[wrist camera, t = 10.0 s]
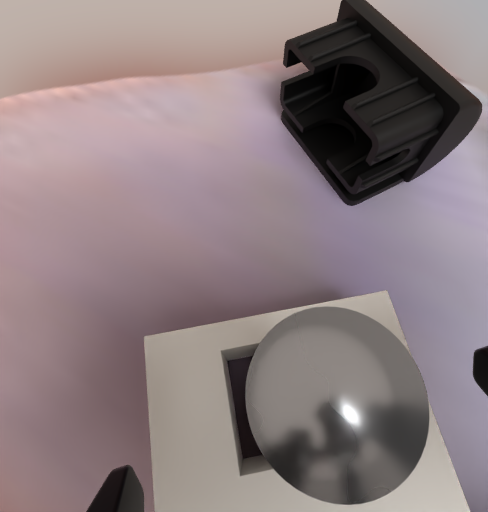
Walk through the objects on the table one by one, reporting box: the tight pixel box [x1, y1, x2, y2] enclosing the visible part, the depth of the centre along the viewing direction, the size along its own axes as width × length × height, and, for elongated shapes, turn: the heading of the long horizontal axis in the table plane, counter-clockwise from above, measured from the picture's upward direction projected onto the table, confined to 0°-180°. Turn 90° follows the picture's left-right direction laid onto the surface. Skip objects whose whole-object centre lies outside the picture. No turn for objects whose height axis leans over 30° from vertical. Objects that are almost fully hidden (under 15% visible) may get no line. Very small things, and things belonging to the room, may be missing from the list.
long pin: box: [245, 306, 429, 505], centre depth 11 cm, size 3×3×12 cm
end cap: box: [280, 0, 482, 206], centre depth 21 cm, size 10×7×7 cm
